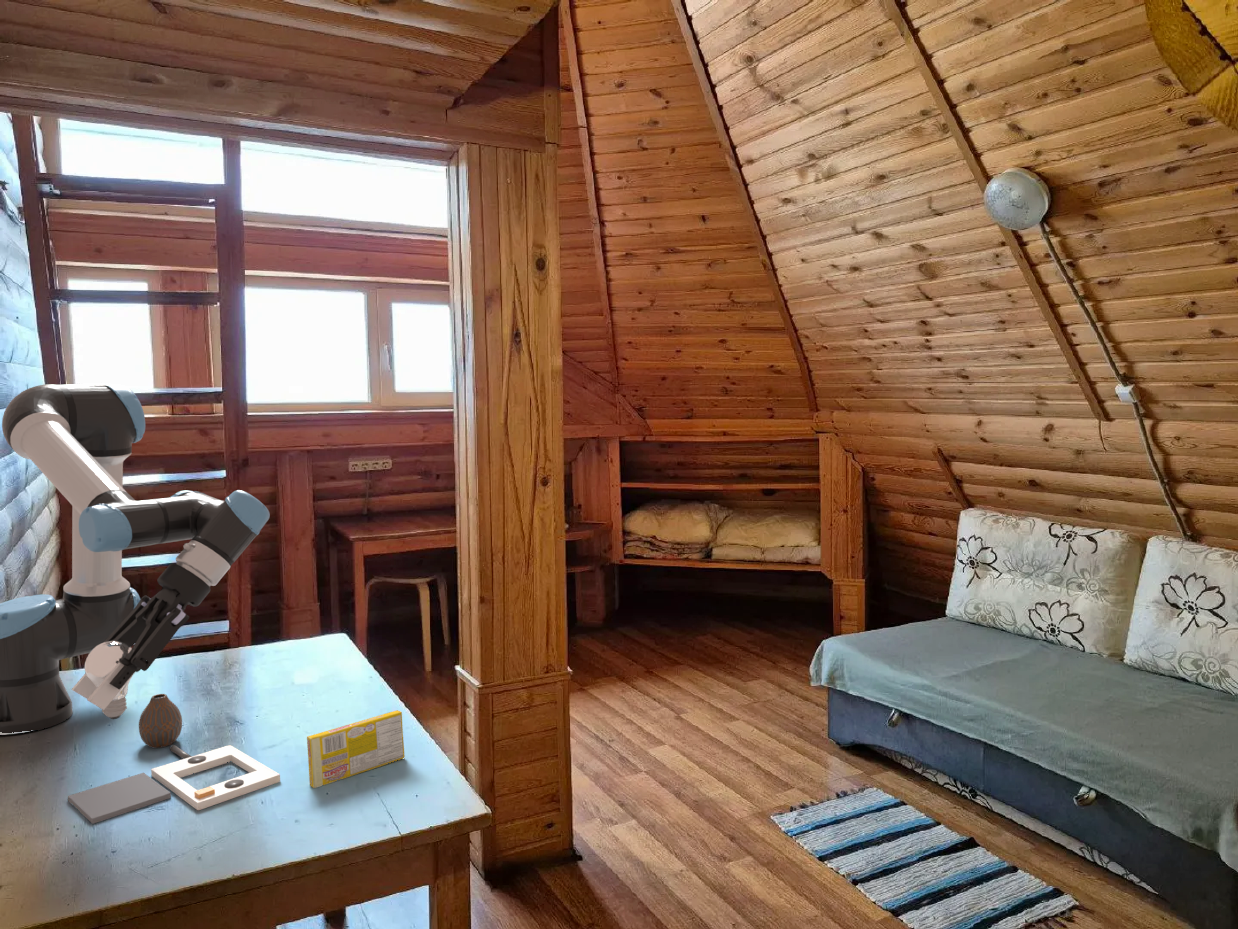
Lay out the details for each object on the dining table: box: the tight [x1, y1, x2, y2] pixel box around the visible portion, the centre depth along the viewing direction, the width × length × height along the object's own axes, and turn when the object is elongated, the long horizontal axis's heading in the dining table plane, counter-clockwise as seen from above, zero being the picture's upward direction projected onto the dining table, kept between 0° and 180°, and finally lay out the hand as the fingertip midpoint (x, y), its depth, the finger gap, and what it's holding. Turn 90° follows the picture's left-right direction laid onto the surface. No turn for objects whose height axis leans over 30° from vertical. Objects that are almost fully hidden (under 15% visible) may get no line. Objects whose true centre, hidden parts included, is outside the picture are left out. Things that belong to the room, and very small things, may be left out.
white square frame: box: [150, 744, 281, 811], centre depth 147 cm, size 26×13×2 cm, turn 48°
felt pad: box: [67, 772, 172, 825], centre depth 138 cm, size 11×11×1 cm
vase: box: [138, 693, 183, 749], centre depth 159 cm, size 7×7×9 cm
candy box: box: [306, 710, 406, 789], centre depth 147 cm, size 16×2×8 cm, turn 133°
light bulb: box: [84, 641, 133, 720], centre depth 136 cm, size 7×7×12 cm
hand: (87, 699), depth 134 cm, fingers closed on light bulb, 6 cm apart
